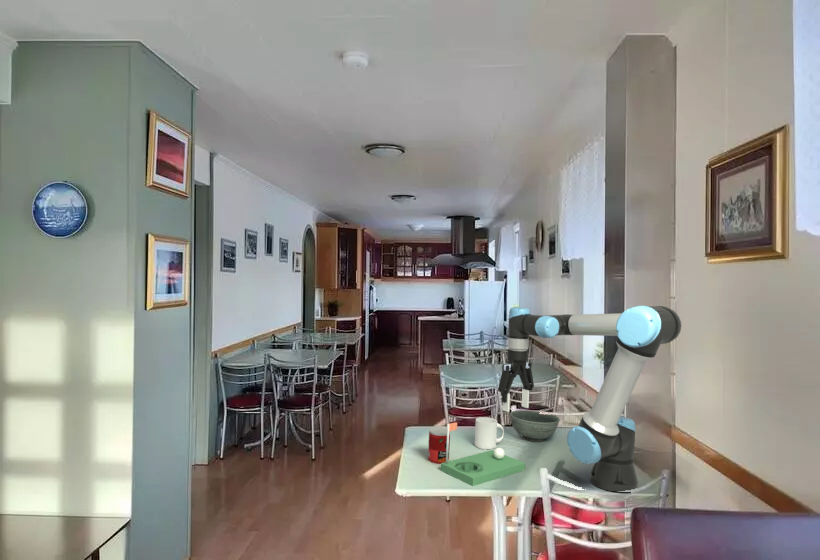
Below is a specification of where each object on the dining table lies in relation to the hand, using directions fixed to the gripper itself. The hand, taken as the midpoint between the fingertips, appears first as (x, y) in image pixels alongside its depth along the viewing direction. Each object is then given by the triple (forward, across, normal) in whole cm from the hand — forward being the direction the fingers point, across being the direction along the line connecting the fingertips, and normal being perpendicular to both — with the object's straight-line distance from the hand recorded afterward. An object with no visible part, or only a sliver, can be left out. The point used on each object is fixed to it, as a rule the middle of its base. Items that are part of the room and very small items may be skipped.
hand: (515, 409), depth 198 cm
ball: (+15, +8, 0) cm, 17 cm away
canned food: (+20, +23, -16) cm, 34 cm away
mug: (+20, -5, -17) cm, 27 cm away
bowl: (+20, -29, -14) cm, 38 cm away
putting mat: (+20, +16, 0) cm, 25 cm away
